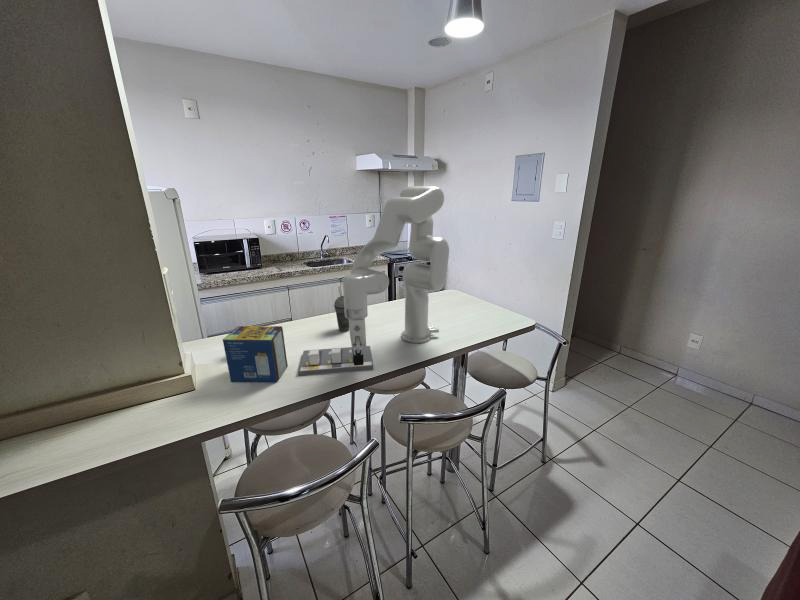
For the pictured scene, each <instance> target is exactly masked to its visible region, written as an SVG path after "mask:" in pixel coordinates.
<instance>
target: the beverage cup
mask: <svg viewBox="0 0 800 600" xmlns="http://www.w3.org/2000/svg"><path fill="white" fill-rule="evenodd" d="M338 293H339V296H338V297H337V298H336V299H335V300H334V304H333V306H334V311H335V314H336V321H337V327H338V331H339V332H341V333H346V332H350V330H349V319H347V318H346V317H345V311H344V295H342V294H341V288H340V286H338Z"/></svg>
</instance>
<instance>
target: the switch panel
mask: <svg viewBox="0 0 800 600" xmlns="http://www.w3.org/2000/svg"><path fill="white" fill-rule="evenodd" d="M338 348H339V347H333V348H322V349H321V348H320V349H318V350H319V358H320V361H319V364H317V365H310V359H309V353H310V351H311V350H312V349H308V350H307V349H305V350H303V352H302V357H301V361H300V365H299V370H298V376H308V375H322V374H331V373H333V374H334V373H343V372H355V371H356V372H357V371H367V370H368V371H369V370H374V362H373V355H372V349H371V345H366V346H365V347H364V346H362V353H363V362H364V364H363V365H354V357H353V354H354V351H353V347H352V346H350V347H346V346H345V347H340V348H341V363H332V349H338Z"/></svg>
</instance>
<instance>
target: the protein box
mask: <svg viewBox="0 0 800 600" xmlns="http://www.w3.org/2000/svg"><path fill="white" fill-rule="evenodd" d="M284 337H285V336H284V329H283V326H281V325H277V326H275V325H272V326H271V325H270V326H269V325H268V326H265V325H264V326H262V325H261V326H258V325H257V326H254V325H251V326H246V325H245V326H244V325H243V326H242V325H239V326H236V327H235V328H234V329H233V330H231V332H229V333H228V334H227V335H226V336H225V337H223V338H222V343H223V347H224V349H223V350H224V353H225V358H226V363H227V368H228V374H229V379H230V383H260V384H261V383H265V384H267V383H270V384H271V383H274V384H275V383H278V382H279V381H280V378H281V377H282V376H283V374H284V373H285V371H286V370H287V369H288V365H289V364H288V359H287V352H286V345H285V338H284Z"/></svg>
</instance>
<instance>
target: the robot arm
mask: <svg viewBox="0 0 800 600" xmlns="http://www.w3.org/2000/svg"><path fill="white" fill-rule="evenodd" d="M444 202H445V195H444V192H443V189H441V188H440V187H438V186H435V185H434V186H430V185H429V186H428V185H425V186H424V185H423V186H421V185H420V186H419V185H418V186H417V185H413V186H406V187H404V188H403V189H401V191H400V194H399V196H396V197H390V198H389V199H388V200H387V201H386V202H385V204H384V207H383V210H382V214H381V216H380V219H379V222H378V224H377V227H376V230H375V233H374V235H373V237H372V239H370V240H369V241H367V243H366V244H365V245H363V247H362V248H361V250H359V252H358V253H357V255H356V256H355V258H354V261H353V264H352V267H351V269H350V273H349V274H345V275H344V277H343V278H342V288H343V291H342V292H343V296H344V311H345V317H346V318H347V319H349V337H350V344H351V347H353V348H354V350H353V351H354V354H353V357H354V365H363V364H364V362H363V353H362V346H364V347H365V346H367V335H366V334H367V333H366V332H367V330H366V318H367V317H368V316H369V313H368V296H370V295H379V294H383V293H384V292H385V291H386V290H387V289H388V288H389V285H390V277H389V276H388V275H387V274H385V273H384V272H383V271H379V270H374V269H371V268H370V266H371V264H372V263H373V261H375V259H376V258H377V257H378V256H380V255H382V254H384V253H386V252H389V251H391V250H394V249H395V248H396V247H398V245H399V241H400V239H401V235H402V234H403V231H404V228H405V226H406V225H405V224H409V225H410V235H409V245H408V253H409V255H410V257H411V258H413V259H415V260H418V261H419V260H420V261H424V262H429V263H430V264H428V263H427V264H426V263H421V262H410V263H408V264H406V265H405V267H404V268H403V271H402V280H403V287H404V330H403V331H402V332H401V333H400V337H401V339H402V340H403V341H405V342H408V343H413V344H421V343H422V344H423V343H426V342H428V341H430V340H431V339H432V334H433V333H435V334H437V333H438V334H439V333H440V329H439V328H438V327H435V326H429V325H428V324H429V293H428V291H431V292H439V291H441V290H442V289H443V288H444V286H445V285H446V280H447V275H448V274H447V273H448V266H449V258H450V257H449V256H450V248H449V247H450V246H449V243H448V241H447V240H446V239H445V238H443V237H441V236H433V234H434V233H433V232H434V220H433V219H434V218H433V217H432V216H433V215H435V214H436V213H438V211H440V209H441V208H442V207H443V205H444ZM355 348H356V350H355ZM360 348H361V349H360Z"/></svg>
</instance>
